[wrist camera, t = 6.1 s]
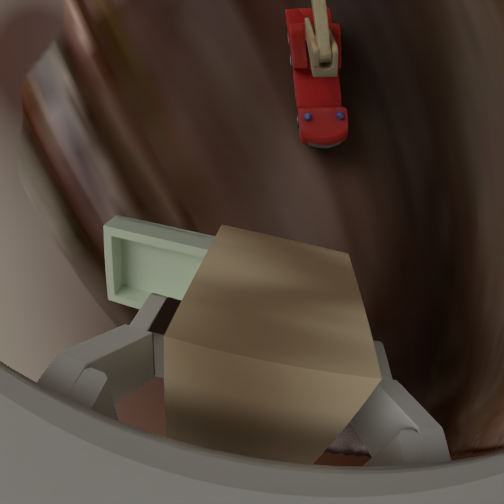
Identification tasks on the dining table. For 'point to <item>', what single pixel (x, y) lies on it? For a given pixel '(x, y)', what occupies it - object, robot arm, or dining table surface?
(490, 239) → the dining table surface
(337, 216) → the dining table surface
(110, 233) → the tray
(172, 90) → the dining table surface
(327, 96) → the toy fire truck
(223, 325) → the block
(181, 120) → the dining table surface
